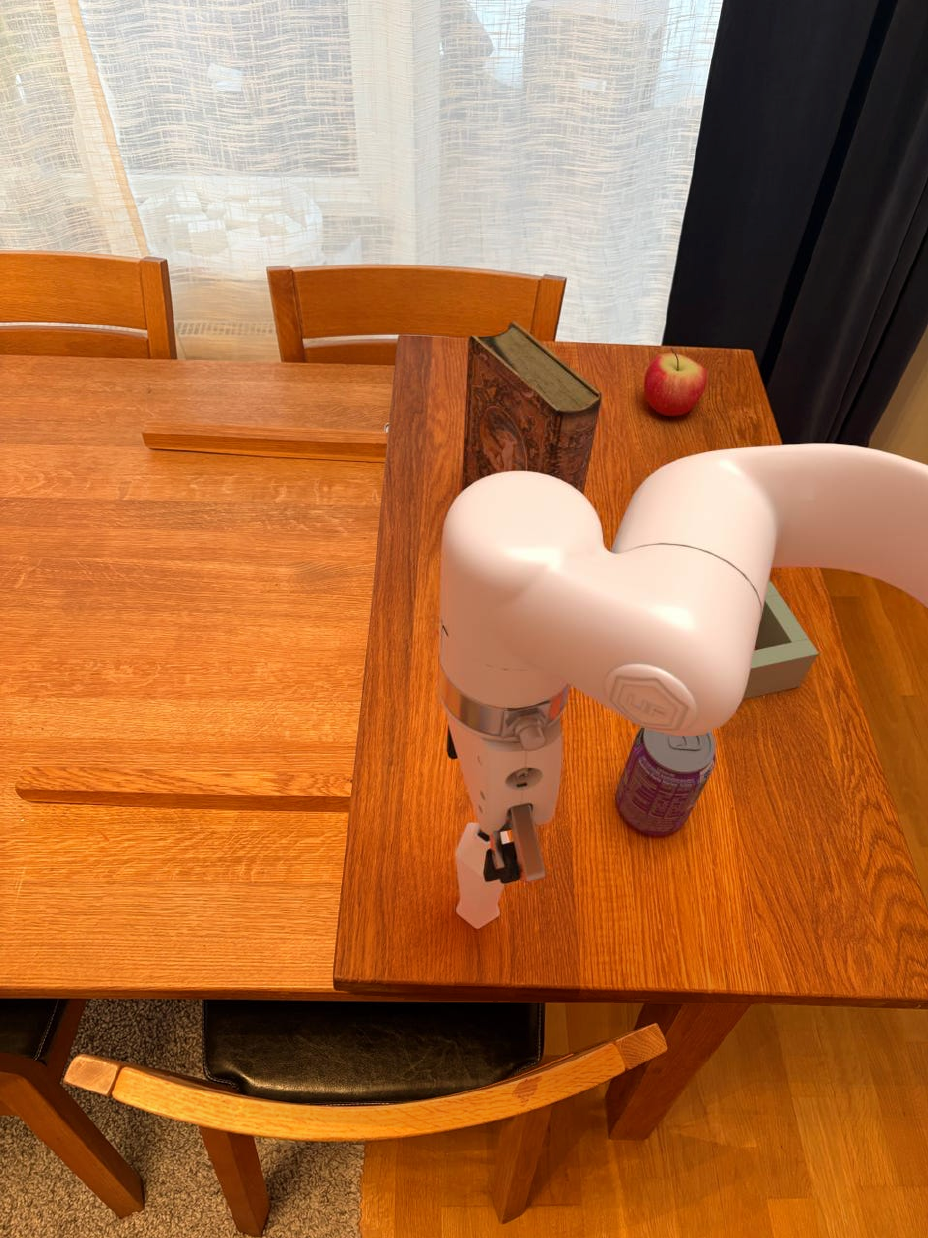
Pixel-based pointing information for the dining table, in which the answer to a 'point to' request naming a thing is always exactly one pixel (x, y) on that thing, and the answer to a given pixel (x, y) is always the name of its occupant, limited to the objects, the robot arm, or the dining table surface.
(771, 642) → the holder
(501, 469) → the book
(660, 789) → the beverage can
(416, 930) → the dining table surface
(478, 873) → the perfume bottle
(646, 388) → the apple
